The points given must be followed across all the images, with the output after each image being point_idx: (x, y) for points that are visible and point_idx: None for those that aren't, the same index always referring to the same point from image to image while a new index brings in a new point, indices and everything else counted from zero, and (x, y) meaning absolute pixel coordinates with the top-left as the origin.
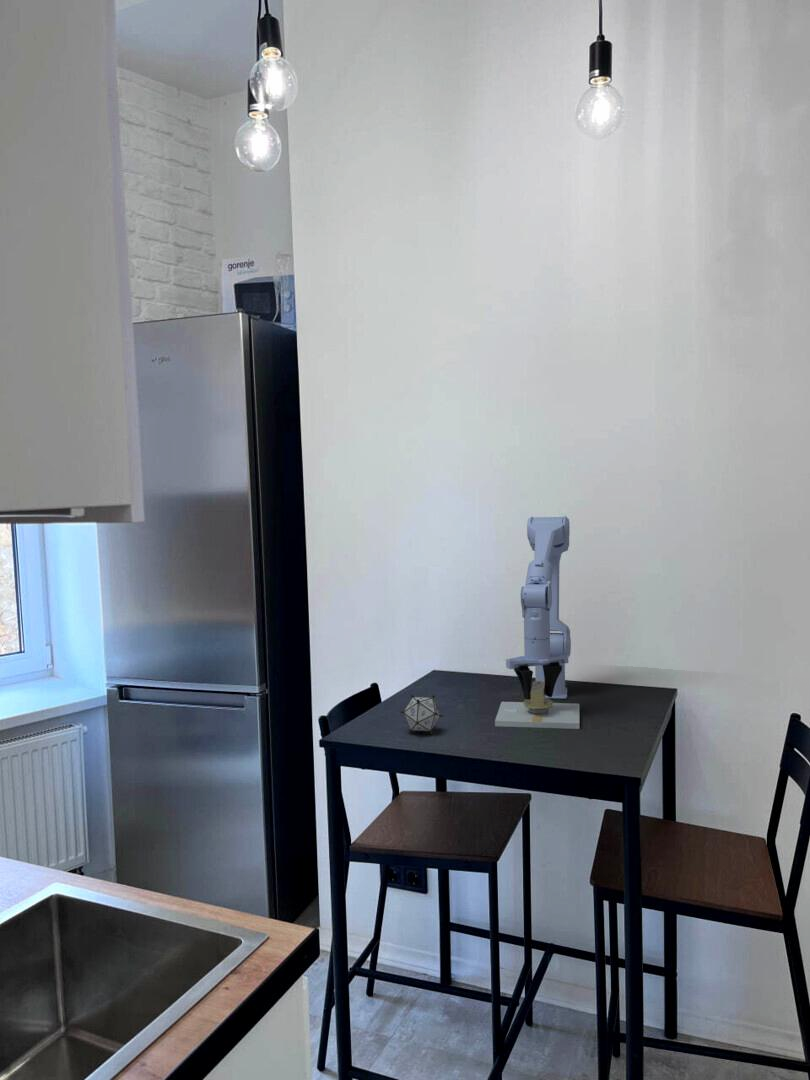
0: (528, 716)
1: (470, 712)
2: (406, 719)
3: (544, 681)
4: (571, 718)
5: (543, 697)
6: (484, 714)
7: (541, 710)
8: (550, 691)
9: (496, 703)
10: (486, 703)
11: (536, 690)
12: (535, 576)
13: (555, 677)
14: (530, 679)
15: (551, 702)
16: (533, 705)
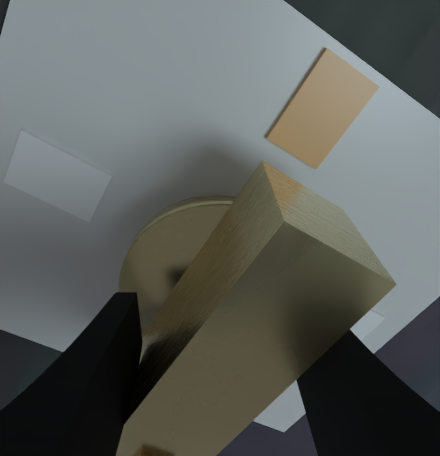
0: None
1: (435, 393)
2: None
3: None
4: (74, 28)
5: (275, 191)
6: (409, 358)
7: None
8: (122, 317)
9: (271, 443)
10: (304, 452)
11: (318, 291)
12: None
13: (13, 429)
14: (398, 437)
15: (143, 244)
16: (330, 203)
